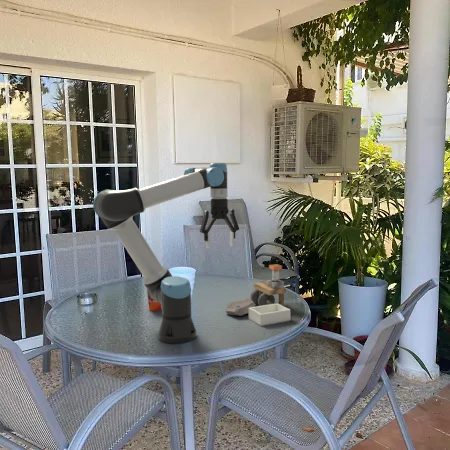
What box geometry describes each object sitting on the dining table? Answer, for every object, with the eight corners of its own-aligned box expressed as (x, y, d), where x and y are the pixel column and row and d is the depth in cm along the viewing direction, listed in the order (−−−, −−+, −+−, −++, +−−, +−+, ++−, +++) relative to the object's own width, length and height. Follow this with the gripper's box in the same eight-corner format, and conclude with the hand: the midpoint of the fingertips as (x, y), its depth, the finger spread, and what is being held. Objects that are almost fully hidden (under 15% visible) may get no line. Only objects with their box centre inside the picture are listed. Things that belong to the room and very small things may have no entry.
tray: (260, 326, 188) (260, 314, 187) (248, 318, 198) (248, 307, 197) (290, 320, 194) (290, 309, 193) (277, 313, 204) (277, 303, 203)
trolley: (263, 312, 206) (263, 284, 204) (248, 304, 219) (248, 278, 218) (285, 309, 210) (285, 281, 209) (269, 301, 224) (269, 275, 223)
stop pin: (273, 288, 208) (273, 266, 207) (269, 286, 212) (269, 265, 211) (281, 287, 210) (281, 265, 209) (277, 285, 214) (277, 264, 213)
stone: (235, 319, 197) (235, 306, 197) (224, 314, 205) (224, 301, 205) (259, 314, 204) (259, 302, 204) (247, 309, 212) (247, 297, 212)
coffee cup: (147, 312, 210) (145, 281, 208) (146, 307, 218) (145, 277, 216) (164, 310, 211) (163, 280, 210) (163, 306, 219) (162, 276, 218)
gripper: (197, 199, 187) (198, 250, 190) (246, 197, 197) (247, 246, 199) (191, 198, 194) (192, 248, 197) (239, 196, 204) (239, 243, 206)
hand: (220, 247), depth 198 cm, fingers open, 11 cm apart
